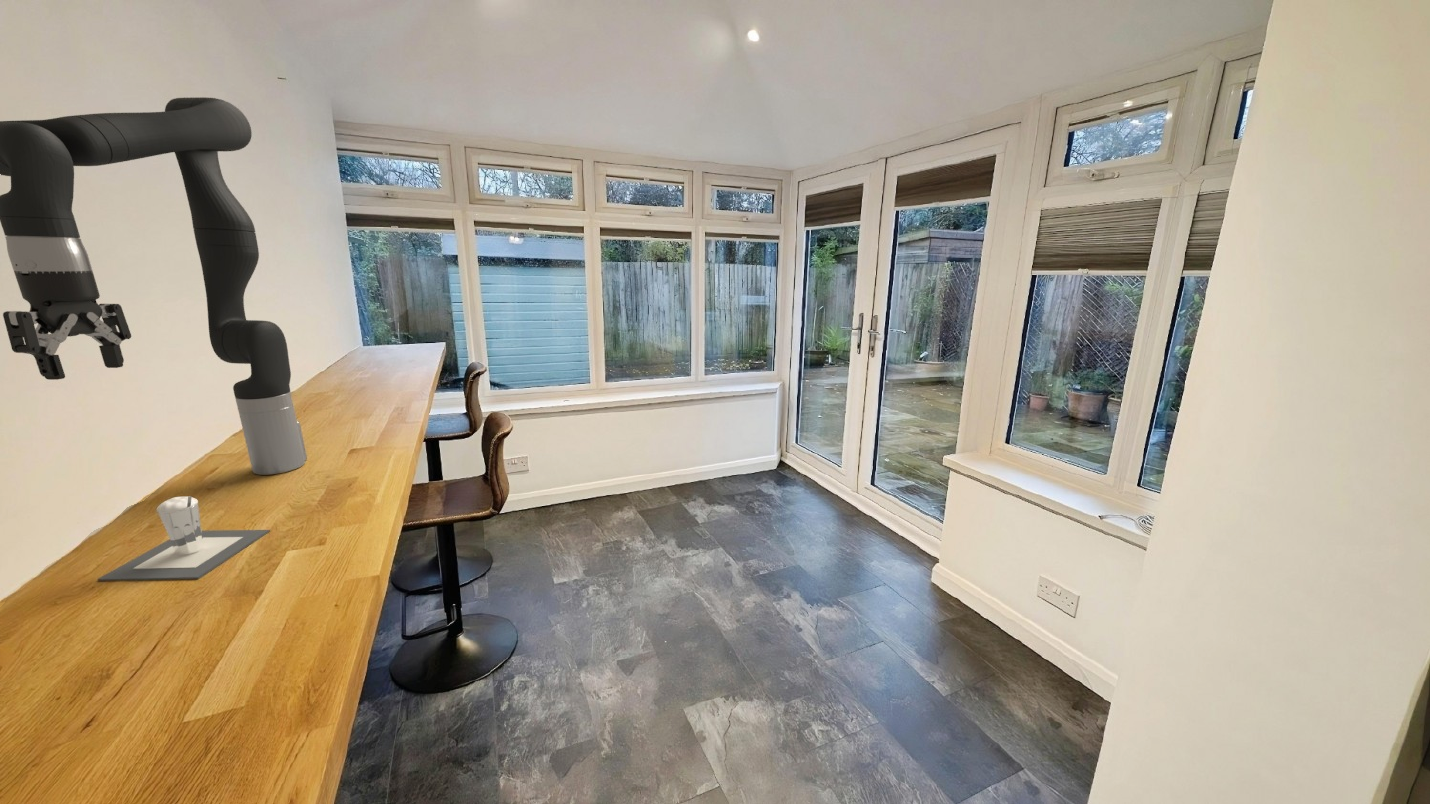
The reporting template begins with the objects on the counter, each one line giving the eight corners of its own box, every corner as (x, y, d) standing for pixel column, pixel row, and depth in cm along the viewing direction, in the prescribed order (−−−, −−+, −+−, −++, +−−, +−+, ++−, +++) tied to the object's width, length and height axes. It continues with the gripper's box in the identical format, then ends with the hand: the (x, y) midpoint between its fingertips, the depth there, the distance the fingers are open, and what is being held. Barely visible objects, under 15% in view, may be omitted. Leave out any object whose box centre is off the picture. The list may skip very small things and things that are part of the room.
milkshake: (188, 560, 81) (172, 502, 78) (162, 556, 82) (145, 498, 79) (221, 545, 85) (206, 490, 83) (195, 541, 86) (180, 486, 84)
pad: (185, 532, 90) (184, 530, 90) (270, 531, 91) (269, 529, 91) (97, 580, 76) (97, 578, 76) (198, 579, 77) (198, 576, 77)
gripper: (79, 267, 85) (108, 364, 89) (-36, 269, 71) (5, 383, 75) (128, 268, 85) (155, 364, 90) (23, 270, 72) (60, 383, 76)
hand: (86, 372), depth 83 cm, fingers open, 8 cm apart
